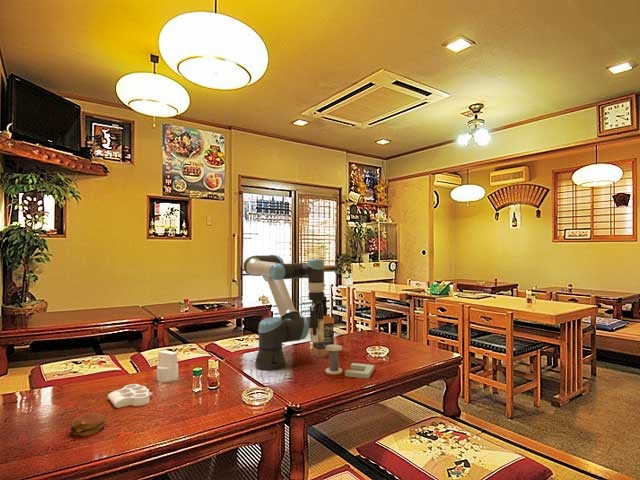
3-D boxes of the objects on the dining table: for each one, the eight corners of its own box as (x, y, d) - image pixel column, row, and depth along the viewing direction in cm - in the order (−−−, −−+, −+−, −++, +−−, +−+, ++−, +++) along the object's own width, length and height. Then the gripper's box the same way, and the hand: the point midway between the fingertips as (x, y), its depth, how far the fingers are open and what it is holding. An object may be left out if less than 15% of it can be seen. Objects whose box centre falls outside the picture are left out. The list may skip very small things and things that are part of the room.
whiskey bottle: (319, 358, 209) (319, 298, 210) (310, 353, 218) (310, 295, 218) (335, 355, 214) (335, 296, 214) (327, 351, 223) (327, 294, 223)
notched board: (344, 376, 181) (344, 371, 181) (352, 366, 194) (352, 362, 194) (368, 378, 177) (368, 374, 178) (374, 369, 191) (374, 365, 191)
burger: (103, 421, 136) (103, 407, 136) (105, 432, 128) (105, 417, 128) (70, 428, 131) (70, 414, 131) (70, 440, 123) (70, 425, 123)
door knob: (323, 373, 184) (323, 348, 185) (328, 368, 192) (328, 343, 192) (339, 375, 182) (339, 349, 182) (344, 370, 189) (344, 345, 190)
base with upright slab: (152, 380, 176) (152, 353, 176) (167, 374, 184) (168, 348, 184) (167, 383, 172) (167, 356, 172) (182, 377, 180) (182, 350, 180)
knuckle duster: (105, 398, 157) (144, 389, 167) (117, 412, 143) (158, 402, 153) (105, 389, 157) (144, 381, 167) (117, 403, 143) (158, 393, 153)
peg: (310, 341, 184) (310, 320, 185) (314, 339, 189) (313, 318, 189) (320, 342, 183) (320, 320, 183) (323, 340, 188) (323, 319, 188)
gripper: (317, 293, 177) (318, 345, 176) (329, 289, 194) (330, 336, 193) (302, 293, 179) (303, 344, 179) (315, 289, 196) (316, 336, 196)
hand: (317, 340), depth 186 cm, fingers closed on peg, 5 cm apart
